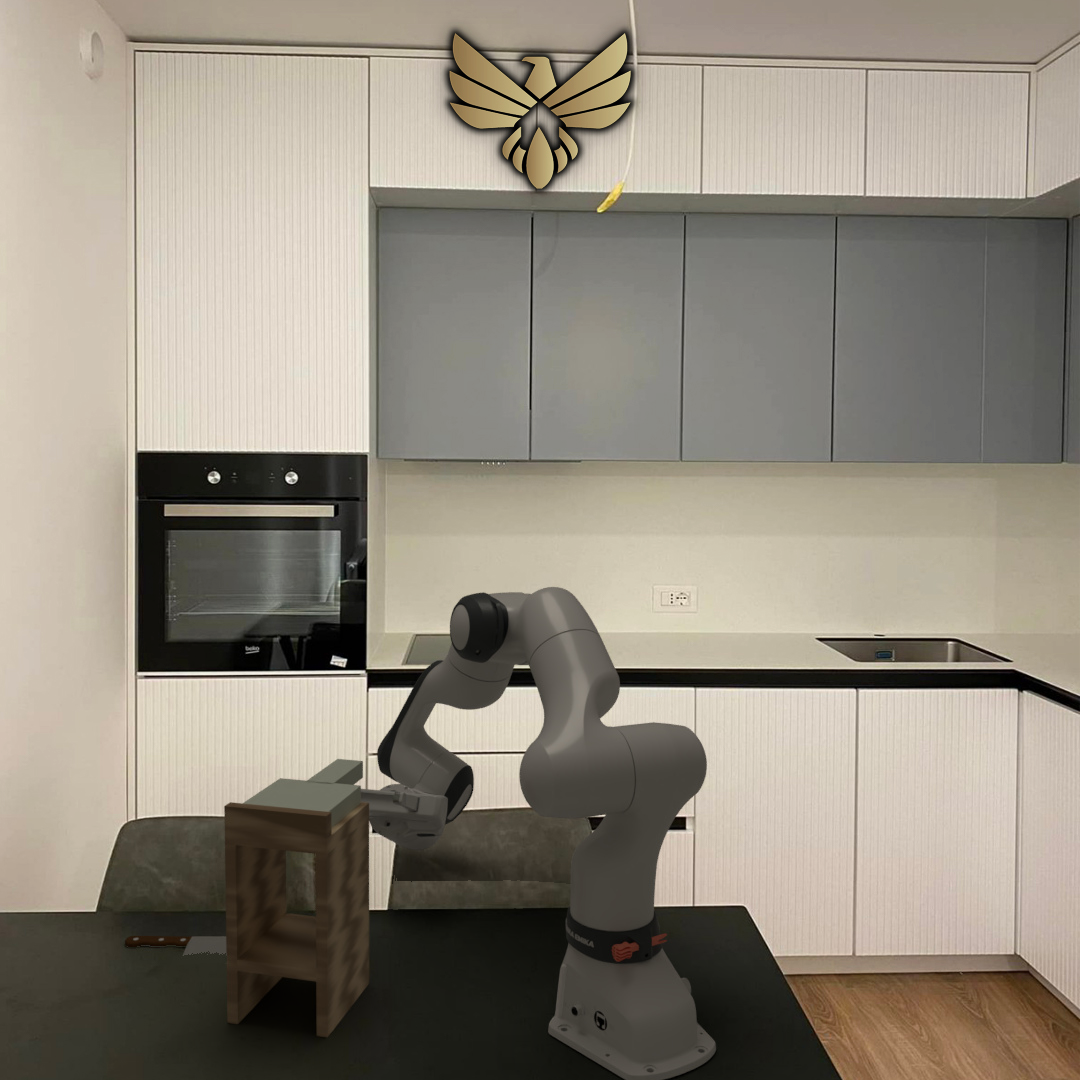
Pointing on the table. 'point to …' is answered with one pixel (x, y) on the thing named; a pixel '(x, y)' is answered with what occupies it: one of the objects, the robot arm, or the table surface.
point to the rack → (289, 939)
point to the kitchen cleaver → (182, 943)
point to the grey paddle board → (318, 791)
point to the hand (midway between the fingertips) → (369, 794)
